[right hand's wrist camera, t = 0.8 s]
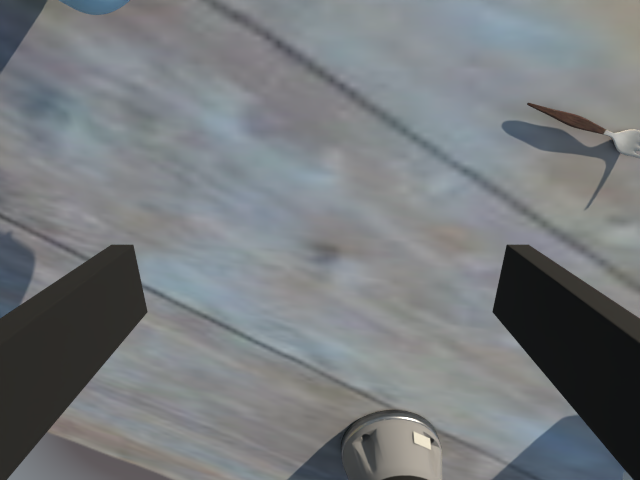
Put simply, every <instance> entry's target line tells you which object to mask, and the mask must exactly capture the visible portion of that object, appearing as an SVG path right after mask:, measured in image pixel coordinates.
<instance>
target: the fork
mask: <svg viewBox="0 0 640 480" xmlns="http://www.w3.org/2000/svg"><path fill="white" fill-rule="evenodd" d="M527 105H529V106H531V107H533V108H535V109H537V110H539V111H541V112H543V113H545V114H547V115H549V116H551V117H553V118H555V119H557V120H559V121H561V122H563V123H565V124H567V125H569V126H571V127H574V128H578V129H582V130H586V131H591V132H595V133H600V134H604V135H607V136H610V137H611V138H612V140H613V142H614V145H615V147H616V149H617V150H618V151H619V152H620V153H622V154H624V155H628V156H632V157H636V158H640V155H639V154H637V153H635V151H640V146H639V145H640V131H639V130H635V129H630V130H625V131H621V132H618V133H612V132H609V131H607V130H606V129H604V128H602V127H600V126H598V125H596V124H595V123H593V122H591V121H589V120H587V119H585V118H583V117H581V116H578V115H575V114H571V113H567V112H562V111H558V110H554V109H550V108H546V107H542V106H539V105H535V104H531V103H527Z"/></svg>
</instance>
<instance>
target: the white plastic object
mask: <svg viewBox="0 0 640 480" xmlns="http://www.w3.org/2000/svg"><path fill="white" fill-rule="evenodd" d="M623 480H633V479H632V478H631V476H630V475H629V474H628V473H627V472H625V471H624V472H623Z"/></svg>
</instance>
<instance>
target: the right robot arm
mask: <svg viewBox="0 0 640 480" xmlns="http://www.w3.org/2000/svg"><path fill="white" fill-rule="evenodd" d="M146 313H147V307H146V303H145V298H144V293H143V289H142V284H141V279H140V274H139V270H138V265H137V260H136V255H135V251H134V246H133V245H110V246H109V247H107V248H106V249H104V250H103V251H101V252H100V253H98V254H97V255H95V256H94V257H92V258H91V259H89V260H88V261H86V262H85V263H83V264H82V265H80V266H79V267H77V268H76V269H74V270H73V271H71V272H70V273H68V274H67V275H65V276H64V277H62V278H61V279H59V280H58V281H56V282H55V283H53V284H52V285H50V286H49V287H47V288H46V289H44V290H43V291H41V292H40V293H38V294H37V295H35V296H34V297H32V298H31V299H29V300H27V301H26V302H24V303H23V304H21V305H20V306H18V307H17V308H15V309H14V310H12V311H11V312H9V313H8V314H6V315H5V316H3V317H2V318H0V480H7V479H8V478H9V476H10V475H11V474H12V473H13V472H14V470H15V469H16V468H17V467H18V466H19V464H20V463H21V462H22V461H23V460H24V459H25V457H26V456H27V455H28V454H29V453H30V451H31V450H32V449H33V448H34V447H35V445H36V444H37V443H38V442H39V441H40V439H41V438H42V437H43V436H44V435H45V433H46V432H47V431H48V430H49V429H50V428H51V426H52V425H53V424H54V423H55V422H56V420H57V419H58V418H59V417H60V416H61V414H62V413H63V412H64V411H65V410H66V408H67V407H68V406H69V405H70V404H71V403H72V401H73V400H74V399H75V398H76V397H77V395H78V394H79V393H80V392H81V391H82V389H83V388H84V387H85V386H86V385H87V383H88V382H89V381H90V380H91V379H92V378H93V376H94V375H95V374H96V373H97V372H98V370H99V369H100V368H101V367H102V366H103V364H104V363H105V362H106V361H107V360H108V358H109V357H110V356H111V355H112V354H113V352H114V351H115V350H116V349H117V348H118V347H119V345H120V344H121V343H122V342H123V341H124V339H125V338H126V337H127V336H128V335H129V333H130V332H131V331H132V330H133V329H134V327H135V326H136V325H137V324H138V323H139V321H140V320H141V319H142V318H143V317H144V316H145V314H146ZM493 313H494V314H495V316H496V317H497V318H498V319H499V320H500V321H501V323H502V324H503V325H504V326H505V327H506V329H507V330H508V331H509V332H510V333H511V335H512V336H513V337H514V338H515V339H516V341H517V342H518V343H519V344H520V345H521V347H522V348H523V349H524V350H525V351H526V352H527V354H528V355H529V356H530V357H531V358H532V360H533V361H534V362H535V363H536V364H537V366H538V367H539V368H540V369H541V370H542V372H543V373H544V374H545V375H546V376H547V378H548V379H549V380H550V381H551V382H552V383H553V385H554V386H555V387H556V388H557V389H558V391H559V392H560V393H561V394H562V395H563V397H564V398H565V399H566V400H567V401H568V403H569V404H570V405H571V406H572V407H573V408H574V410H575V411H576V412H577V413H578V414H579V416H580V417H581V418H582V419H583V420H584V422H585V423H586V424H587V425H588V426H589V428H590V429H591V430H592V431H593V432H594V434H595V435H596V436H597V437H598V438H599V439H600V441H601V442H602V443H603V444H604V445H605V447H606V448H607V449H608V450H609V451H610V453H611V454H612V455H613V456H614V457H615V459H616V460H617V461H618V462H619V463H620V464H621V466H622V467H623V468H624V469H625V470H626V472H627V473H628V474H629V475H630V476H631V478H632V479H633V480H640V318H638V317H637V316H635V315H634V314H632V313H631V312H629V311H628V310H626V309H625V308H623V307H622V306H620V305H619V304H617V303H616V302H614V301H613V300H611V299H609V298H608V297H606V296H605V295H603V294H602V293H600V292H599V291H597V290H596V289H594V288H593V287H591V286H590V285H588V284H587V283H585V282H584V281H582V280H581V279H579V278H578V277H576V276H575V275H573V274H572V273H570V272H569V271H567V270H566V269H564V268H563V267H561V266H560V265H558V264H557V263H555V262H554V261H552V260H551V259H549V258H548V257H546V256H545V255H543V254H542V253H540V252H539V251H537V250H536V249H534V248H533V247H531V246H530V245H507V246H506V251H505V255H504V260H503V265H502V270H501V274H500V279H499V284H498V288H497V293H496V298H495V303H494V307H493ZM341 452H342V462H343V465H344V468H345V471H346V474H347V476H348V479H349V480H442V450H441V444H440V441H439V438H438V435H437V433H436V431H435V429H434V427H433V426H432V425H431V424H430V423H429V422H428V421H427V420H426V419H424V418H423V417H421V416H419V415H417V414H414V413H411V412H407V411H400V410H386V411H380V412H376V413H372V414H369V415H367V416H365V417H363V418H361V419H359V420H358V421H356V422H355V423H354V424H352V425H351V426H350V427H349V429H348V430H347V431H346V433H345V434H344V436H343V439H342V443H341Z"/></svg>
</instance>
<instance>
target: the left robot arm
mask: <svg viewBox="0 0 640 480" xmlns="http://www.w3.org/2000/svg"><path fill="white" fill-rule="evenodd" d="M59 1H61V2H63V3H65V4H66V5H68V6H70V7H72V8H74V9H76V10H78V11H80V12H83V13H87V14H92V15H101V14H107V13H111V12H113V11H115V10H117V9H119V8H121V7H122V6H124V5H125V4H126V3H127V2H129V1H130V0H59Z"/></svg>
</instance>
